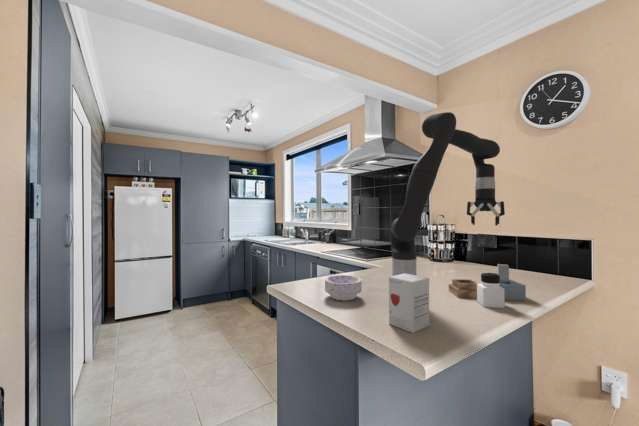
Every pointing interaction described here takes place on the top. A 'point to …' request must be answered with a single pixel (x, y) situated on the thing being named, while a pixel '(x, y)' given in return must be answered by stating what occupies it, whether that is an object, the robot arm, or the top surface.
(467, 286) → the socket block
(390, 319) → the supplement box
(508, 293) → the bin
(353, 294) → the pale lilac bowl
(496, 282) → the medicine bottle
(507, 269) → the strut
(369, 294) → the top surface
